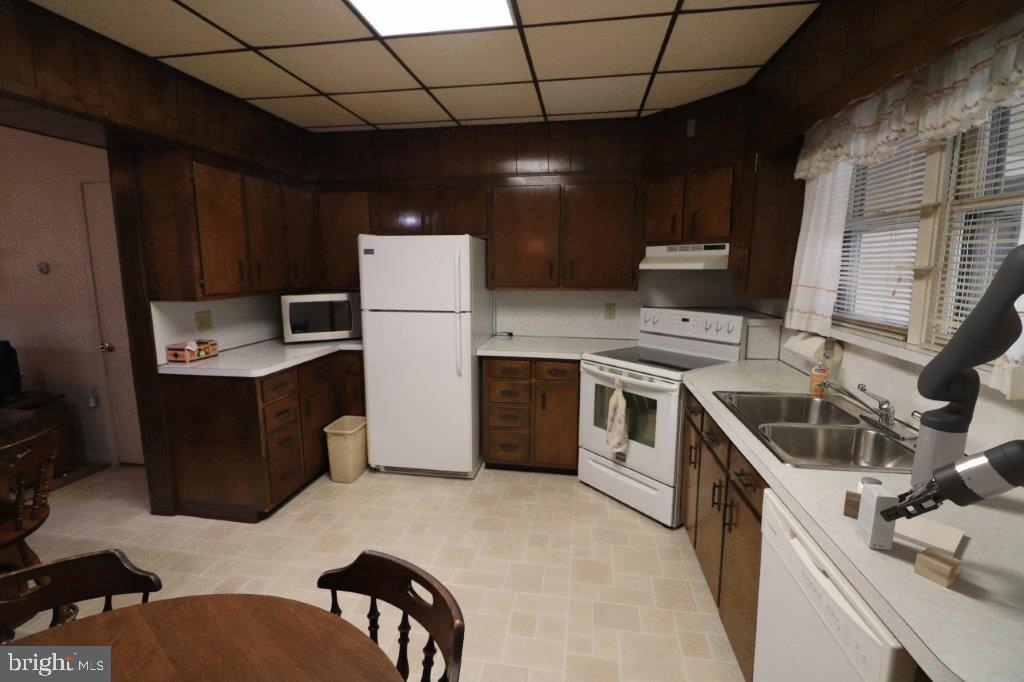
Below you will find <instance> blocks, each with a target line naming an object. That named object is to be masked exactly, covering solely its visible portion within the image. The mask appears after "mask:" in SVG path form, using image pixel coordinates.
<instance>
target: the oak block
mask: <svg viewBox="0 0 1024 682" xmlns="http://www.w3.org/2000/svg"><path fill="white" fill-rule="evenodd" d="M914 563H915V564H914V569H913V573H914V574H916V575H918V576H920V577H922V578H925V580H926V579H927V580H929V581H931V582H933V583H935V584H936V585H939V586H941V587H943V588H945V589H947V588H948V587H949V586H952V584H954V583H955V582H957V581H958V580H959V577H960V574H961V573H960V571H961V567H962V560H959V559H958V558H955V557H954V556H953V557H951V556H948V555H946V554H944V553H942V552H939V551H937V550H935V549H933V548H930V547H928V548H925V549H924V550H922V551H920V552H918V553H917V554H916V558H915V562H914Z"/></svg>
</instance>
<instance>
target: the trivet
mask: <svg viewBox="0 0 1024 682" xmlns="http://www.w3.org/2000/svg"><path fill="white" fill-rule="evenodd" d="M964 536H965V530H961V529H958V528H956V527H952V526H950V525H946V524H943V523H940V522H937V521H934V520H931V519H928V518H925V517H922V516H920V515H919V516H916V517H913V518H911V519H906V517H902V518H899V519H896V523H895V529H894V536H893V537H895V538H899V539H901V540H905V541H907V542H909V541H910V543H913V544H916V545H919V546H920V545H921V546H920V547H923V546H924V547H923V548H925V549H927V548H928V547H930V548H933V549H935V550H937V551H939V552H942V553H944V554H946V555H948V556H951V557H953V558H954V556H955V554H956V553H957V550H958V549H959V546H960V544H961V542H962V540H963V538H964Z"/></svg>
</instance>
